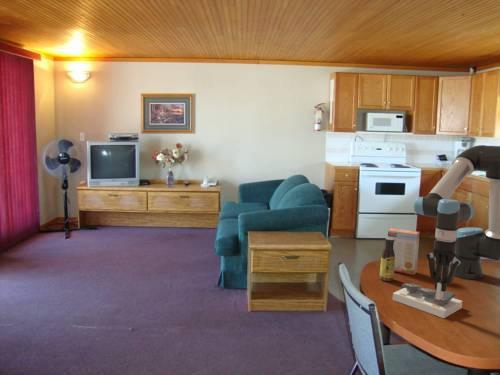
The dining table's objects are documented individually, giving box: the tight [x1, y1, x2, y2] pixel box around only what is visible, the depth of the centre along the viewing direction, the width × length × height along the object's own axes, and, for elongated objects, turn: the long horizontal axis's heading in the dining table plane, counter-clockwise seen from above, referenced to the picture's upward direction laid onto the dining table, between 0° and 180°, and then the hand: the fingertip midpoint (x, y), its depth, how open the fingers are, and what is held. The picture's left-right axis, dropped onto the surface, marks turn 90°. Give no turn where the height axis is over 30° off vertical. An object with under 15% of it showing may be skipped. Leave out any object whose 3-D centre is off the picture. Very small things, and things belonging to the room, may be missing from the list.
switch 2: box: [433, 289, 456, 305], centre depth 173 cm, size 9×4×2 cm, turn 130°
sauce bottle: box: [379, 237, 395, 282], centre depth 205 cm, size 6×6×20 cm
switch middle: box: [417, 287, 437, 295], centre depth 179 cm, size 9×4×2 cm, turn 131°
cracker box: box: [387, 227, 420, 276], centre depth 216 cm, size 14×6×21 cm, turn 58°
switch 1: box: [401, 282, 423, 290], centre depth 184 cm, size 9×4×2 cm, turn 131°
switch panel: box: [392, 287, 463, 319], centre depth 179 cm, size 15×22×4 cm
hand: (439, 298), depth 171 cm, fingers closed
